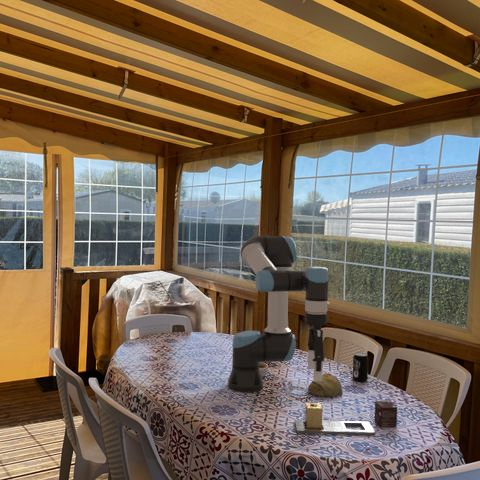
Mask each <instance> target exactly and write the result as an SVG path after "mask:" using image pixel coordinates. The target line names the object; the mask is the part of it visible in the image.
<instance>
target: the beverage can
mask: <svg viewBox="0 0 480 480" xmlns="http://www.w3.org/2000/svg"><path fill="white" fill-rule="evenodd" d="M368 376H369V357H368V353H366V352H359V351H358V352H354V355H353V357H352V379H353V380H354V381H355V382H357V381H358V383H365V382H367V381H368V378H369V377H368Z"/></svg>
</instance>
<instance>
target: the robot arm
mask: <svg viewBox="0 0 480 480" xmlns="http://www.w3.org/2000/svg"><path fill="white" fill-rule="evenodd" d="M240 257H241V260H243V262H244V263H245V264H246V265H247V266H249V267H250V268H251V269H252V271H253V273H254V274H255V286H256V289H257V291H259V292H264V293H265V292H266V293H268V297H267V327H265V328H264V329H263V334H261V332H260V331H259V330H244V331H240V332H237V333H236V334H234V335H233V339H232V365H231V366H232V367H231V371H230V374H229V377H228V380H227V388H228V389H229V390H231V391H235V392H240V393H254V392H259V391H261V390H263V388H264V380H263V377H262V374H261V370H260V365H261V363H276V362H277V363H278V362H279V363H282V362H288V361H291V360H292V359H293V357H294V356H295V351H296V347H297V345H296V343H297V342H296V336H295V334H293V333H292V330H291V329H290V328H289V326H288V325H289V323H288V322H289V319H288V318H289V316H288V314H289V310H288V309H289V292H305V300H304V311H305V314H304V323H305V324H306V325H309V327H308V329H309V331H308V340H307V349H308V358H307V359H308V361H307V369H308V370H313V381H322V375H323V363H324V361H325V357H324V356H325V355H324V339H323V337H324V334H323V333H324V331H323V330H322V326H325V325H328V313H327V312H328V307H329V306H330V302H328V300H329V280H330V277H329V269H328V268H327V267H326V266H308V267H307V268H306V269H299V270H298V269H297V270H296V269H295V270H293V264H295V263H296V262H297V258H298V250H297V245H296V242H295V240H294V239H293V238H292V237H291V236H284V235H255V236H252V237H250V238H248V239H247V240H246V241H244V243H243V244H242V246H241V248H240ZM291 269H292V270H291Z"/></svg>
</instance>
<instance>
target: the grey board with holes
mask: <svg viewBox="0 0 480 480" xmlns="http://www.w3.org/2000/svg"><path fill="white" fill-rule="evenodd" d="M304 424H305V419H304V420H303V419H299V420H297V419H295V420H294V426H296V427H295V431H296V430H297V431H296V434H297V433H322V434H321V435H338V434H345V435H346V436H351V435H353V436H376V431H375V429H374V427H373V426H372V425H371V423H370V422H369V421H347V420H345V421H344V420H343V421H342V420H322V430H318V429H306V427H305V425H304ZM345 425H351V426H350V427H361V428H362V429H347V427H346V426H345ZM345 435H344V436H345Z"/></svg>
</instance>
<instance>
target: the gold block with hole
mask: <svg viewBox="0 0 480 480" xmlns="http://www.w3.org/2000/svg"><path fill="white" fill-rule="evenodd" d="M304 415H305V417H304V420H305V425H304V427H305V426H306V427H305V429H318V430H323V428H322V421H323V407H322V404H321V402H305V414H304Z"/></svg>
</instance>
